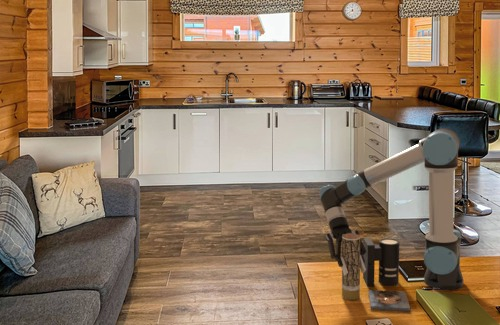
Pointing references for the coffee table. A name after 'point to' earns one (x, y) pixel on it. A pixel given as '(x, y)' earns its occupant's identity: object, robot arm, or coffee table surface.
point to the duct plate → (388, 301)
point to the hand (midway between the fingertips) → (355, 272)
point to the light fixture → (382, 261)
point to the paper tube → (351, 266)
